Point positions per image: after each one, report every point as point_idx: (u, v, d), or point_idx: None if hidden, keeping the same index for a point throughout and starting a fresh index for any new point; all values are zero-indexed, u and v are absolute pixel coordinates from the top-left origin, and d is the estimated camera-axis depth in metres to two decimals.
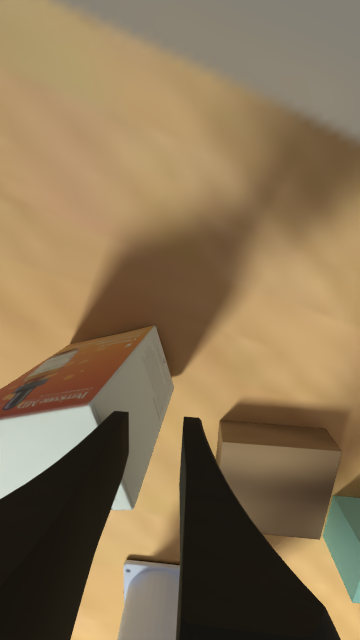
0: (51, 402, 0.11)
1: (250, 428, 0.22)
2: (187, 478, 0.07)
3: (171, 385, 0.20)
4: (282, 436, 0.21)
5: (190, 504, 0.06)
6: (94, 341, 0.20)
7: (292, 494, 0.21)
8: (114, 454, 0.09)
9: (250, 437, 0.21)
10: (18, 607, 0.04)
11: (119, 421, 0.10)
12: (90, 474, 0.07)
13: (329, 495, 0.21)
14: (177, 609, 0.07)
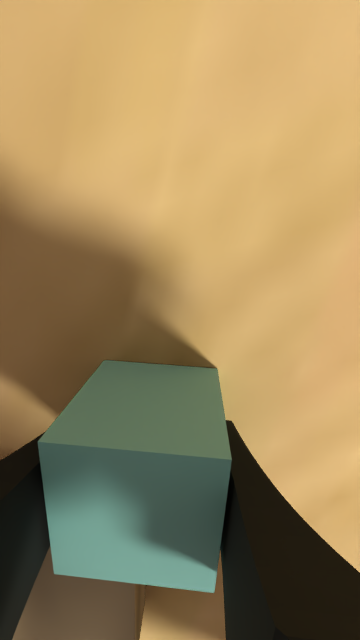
0: None
1: None
2: (235, 483, 0.07)
3: None
4: None
5: (245, 510, 0.06)
6: None
7: (38, 577, 0.12)
8: None
9: None
10: None
11: None
12: (39, 469, 0.07)
13: None
14: (225, 615, 0.07)
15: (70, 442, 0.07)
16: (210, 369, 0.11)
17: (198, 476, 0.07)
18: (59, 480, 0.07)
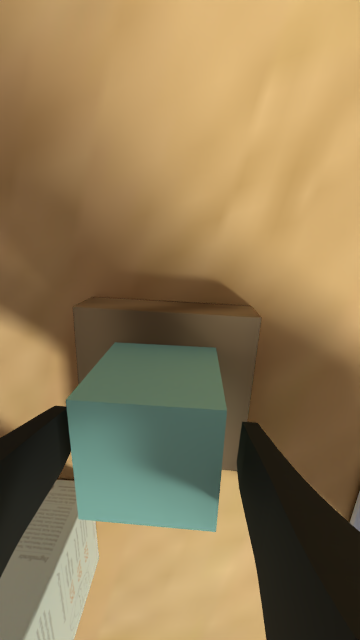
0: None
1: None
2: (275, 487, 0.07)
3: None
4: None
5: (291, 514, 0.06)
6: None
7: None
8: (45, 448, 0.09)
9: None
10: None
11: (54, 415, 0.10)
12: (4, 466, 0.07)
13: (160, 314, 0.12)
14: (265, 620, 0.07)
15: (92, 400, 0.08)
16: (210, 348, 0.12)
17: (200, 426, 0.08)
18: (83, 433, 0.08)
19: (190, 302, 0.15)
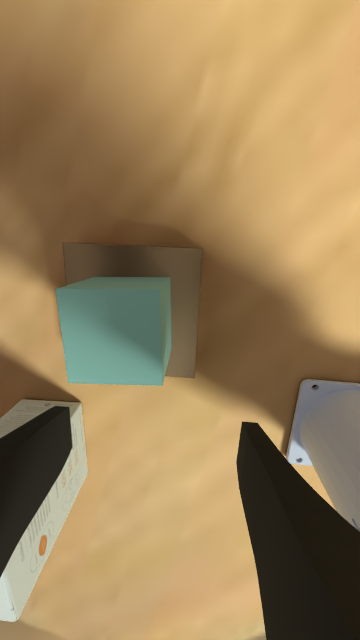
0: None
1: None
2: (275, 487, 0.07)
3: (71, 406, 0.22)
4: None
5: (291, 514, 0.06)
6: None
7: None
8: (45, 448, 0.09)
9: None
10: None
11: (54, 415, 0.10)
12: (4, 466, 0.07)
13: (127, 247, 0.16)
14: (264, 620, 0.07)
15: (73, 288, 0.12)
16: (165, 277, 0.17)
17: (144, 302, 0.12)
18: (68, 313, 0.13)
19: None
